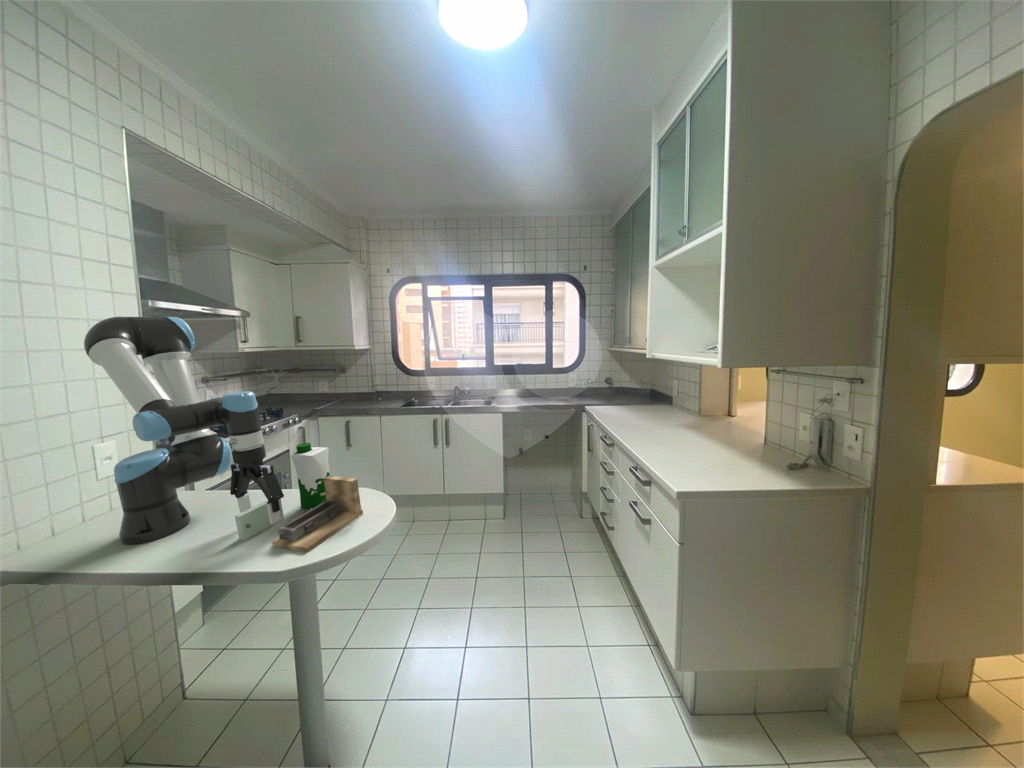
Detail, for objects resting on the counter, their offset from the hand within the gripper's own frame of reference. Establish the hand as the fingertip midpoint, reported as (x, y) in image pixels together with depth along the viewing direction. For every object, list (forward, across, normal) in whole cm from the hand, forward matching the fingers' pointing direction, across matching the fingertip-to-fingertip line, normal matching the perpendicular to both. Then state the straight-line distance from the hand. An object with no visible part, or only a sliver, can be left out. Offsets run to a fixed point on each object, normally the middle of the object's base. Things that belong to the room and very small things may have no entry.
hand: (261, 519), depth 107 cm
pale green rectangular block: (+3, 0, 0) cm, 3 cm away
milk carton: (+3, +4, +16) cm, 17 cm away
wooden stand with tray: (+3, +18, +4) cm, 19 cm away
